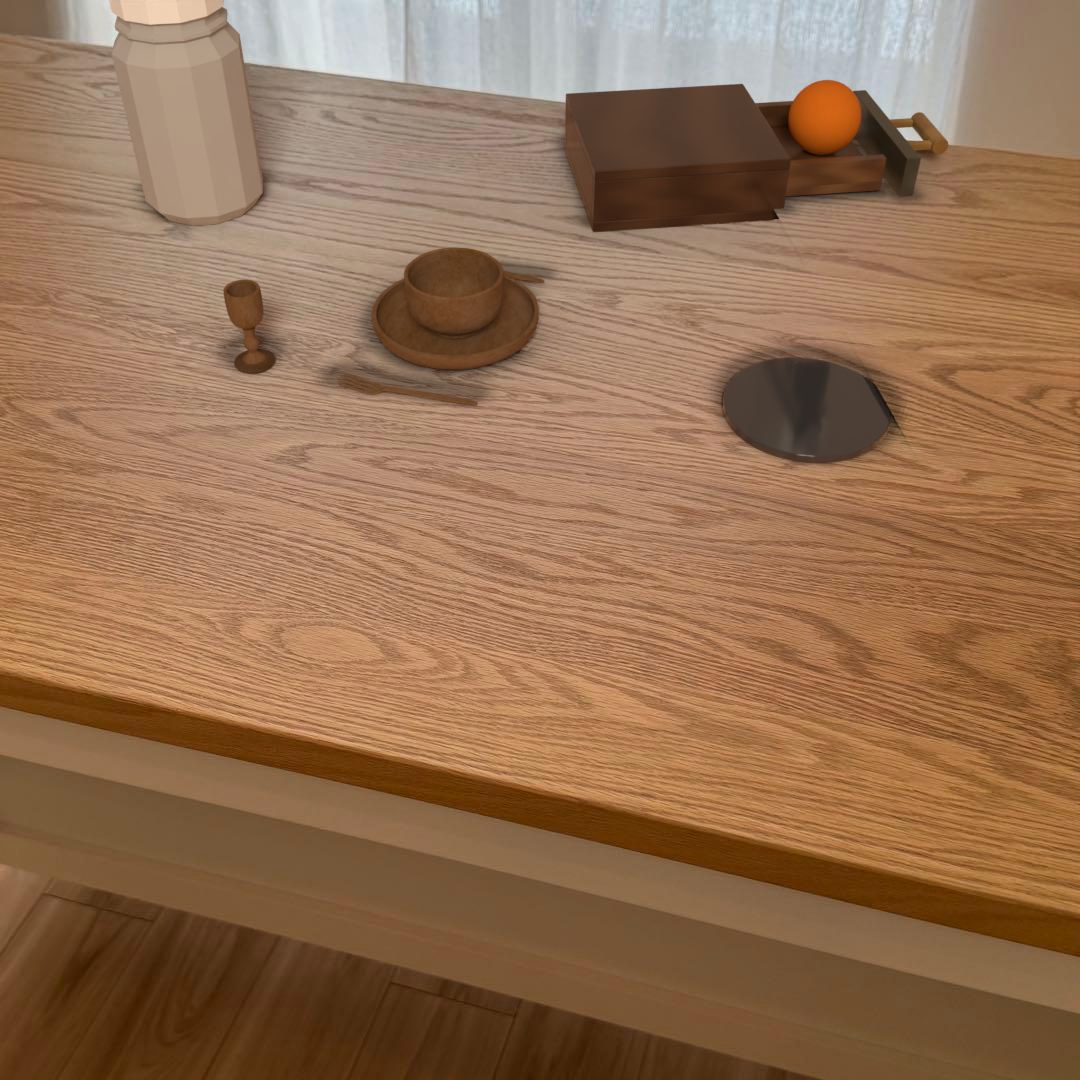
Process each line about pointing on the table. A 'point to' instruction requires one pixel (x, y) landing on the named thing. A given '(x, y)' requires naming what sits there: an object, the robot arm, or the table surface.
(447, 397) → the place setting
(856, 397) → the coaster
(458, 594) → the table surface
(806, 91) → the orange
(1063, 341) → the table surface
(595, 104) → the cabinet
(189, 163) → the jar
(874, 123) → the drawer
